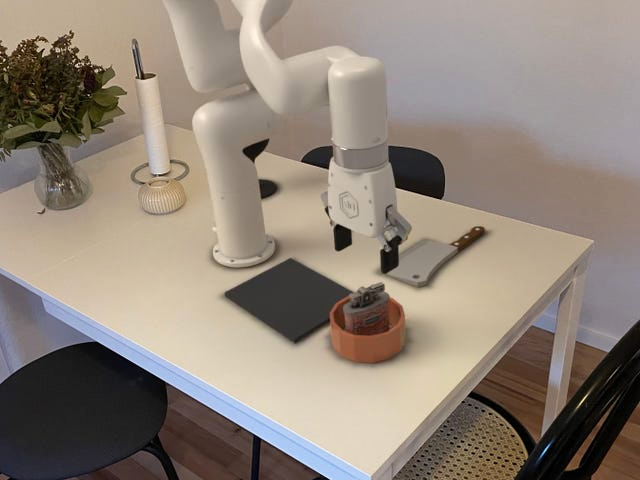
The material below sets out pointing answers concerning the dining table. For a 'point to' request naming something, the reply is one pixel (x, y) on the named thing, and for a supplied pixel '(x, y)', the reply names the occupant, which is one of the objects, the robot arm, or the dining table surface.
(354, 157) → the robot arm
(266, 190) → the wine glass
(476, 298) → the dining table surface
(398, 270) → the kitchen cleaver
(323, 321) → the mat
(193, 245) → the dining table surface
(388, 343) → the orange hollow ring
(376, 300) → the lighter
